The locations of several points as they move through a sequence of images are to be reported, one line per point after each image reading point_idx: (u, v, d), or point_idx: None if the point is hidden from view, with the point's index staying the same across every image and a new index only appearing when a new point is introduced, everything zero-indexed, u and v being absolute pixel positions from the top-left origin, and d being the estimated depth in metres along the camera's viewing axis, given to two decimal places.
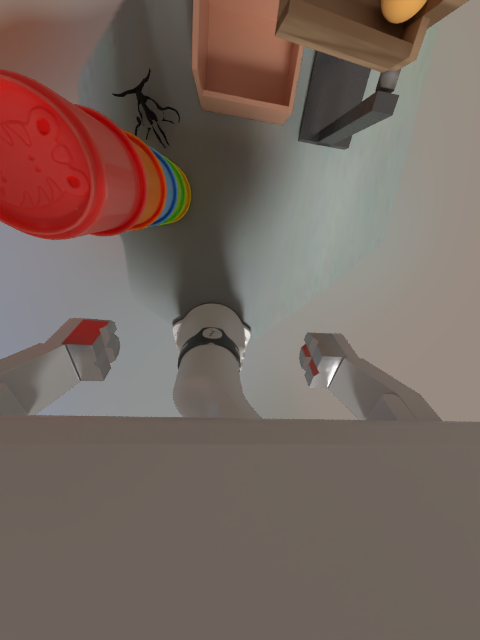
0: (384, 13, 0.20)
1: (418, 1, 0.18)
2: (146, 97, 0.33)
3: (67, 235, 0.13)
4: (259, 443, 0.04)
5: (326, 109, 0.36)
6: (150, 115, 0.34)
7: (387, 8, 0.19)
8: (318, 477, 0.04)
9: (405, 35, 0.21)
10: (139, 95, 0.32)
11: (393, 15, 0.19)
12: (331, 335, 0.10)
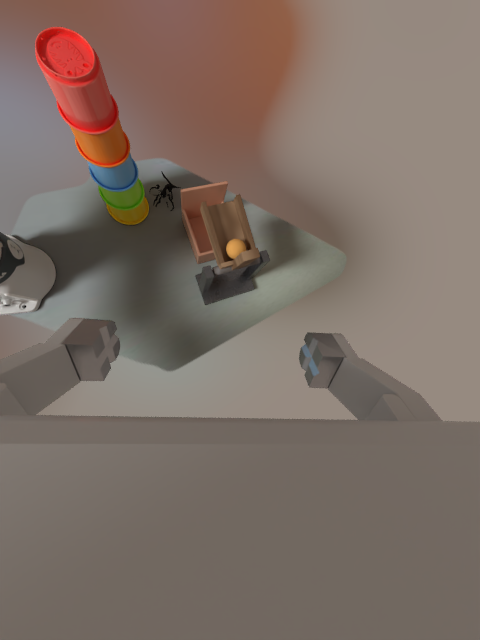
0: (226, 247, 0.46)
1: (231, 251, 0.44)
2: (170, 190, 0.61)
3: (42, 67, 0.27)
4: (259, 443, 0.04)
5: (214, 281, 0.62)
6: (163, 192, 0.60)
7: None
8: (318, 477, 0.04)
9: None
10: (168, 184, 0.60)
11: (226, 248, 0.45)
12: (331, 335, 0.10)
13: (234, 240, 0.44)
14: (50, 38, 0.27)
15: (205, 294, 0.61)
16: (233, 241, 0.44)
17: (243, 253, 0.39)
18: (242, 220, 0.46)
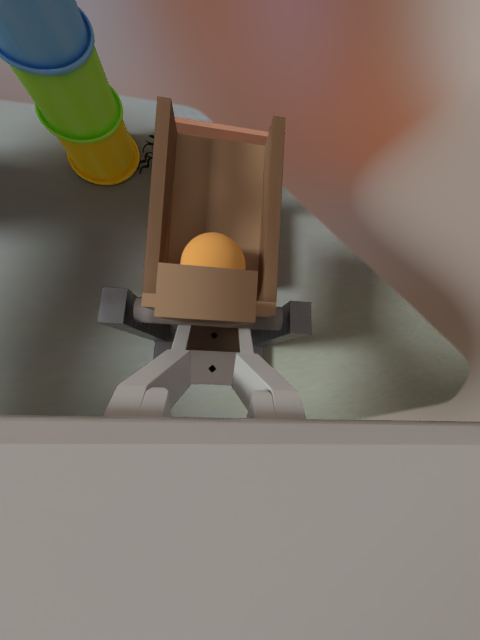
0: None
1: None
2: None
3: None
4: (259, 443, 0.04)
5: None
6: None
7: None
8: (318, 477, 0.04)
9: None
10: None
11: None
12: (236, 329, 0.09)
13: (210, 234, 0.13)
14: None
15: (161, 344, 0.30)
16: (205, 235, 0.13)
17: (164, 273, 0.07)
18: (266, 194, 0.15)
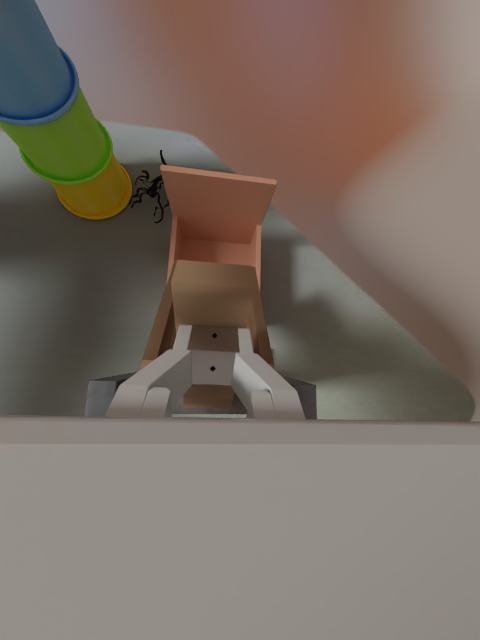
0: None
1: None
2: None
3: None
4: (259, 443, 0.04)
5: None
6: (151, 187, 0.32)
7: None
8: (318, 477, 0.04)
9: None
10: None
11: None
12: (236, 329, 0.09)
13: None
14: None
15: None
16: None
17: (181, 264, 0.09)
18: None
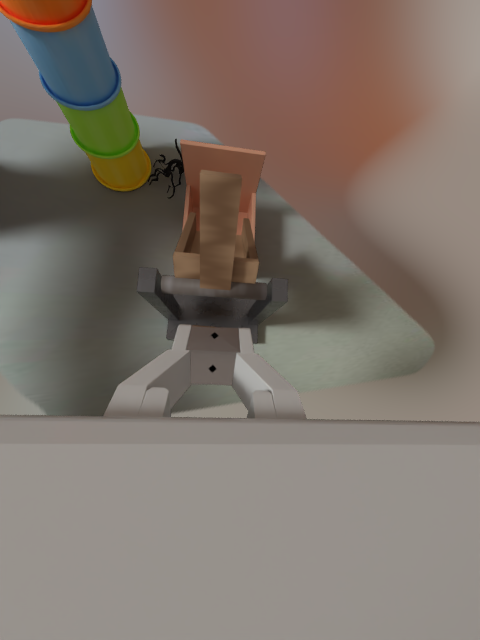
0: None
1: None
2: (179, 171, 0.41)
3: None
4: (259, 443, 0.04)
5: (195, 308, 0.37)
6: (166, 169, 0.40)
7: None
8: (318, 477, 0.04)
9: None
10: (176, 160, 0.39)
11: None
12: (237, 330, 0.09)
13: None
14: None
15: (173, 323, 0.36)
16: None
17: (203, 170, 0.17)
18: (244, 236, 0.28)
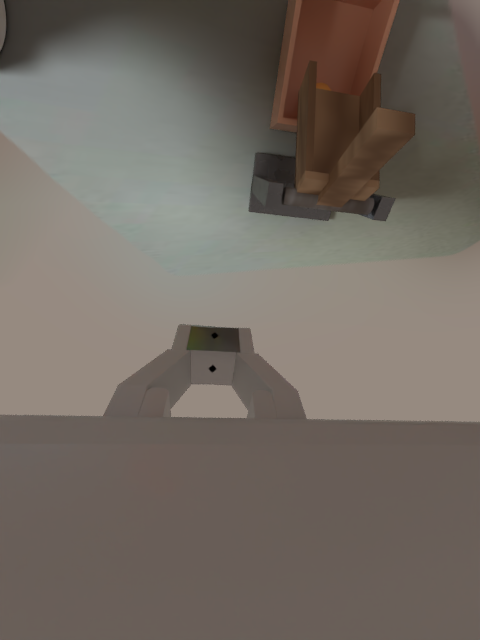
0: None
1: None
2: None
3: None
4: (259, 443, 0.04)
5: (278, 179, 0.37)
6: None
7: None
8: (318, 477, 0.04)
9: None
10: None
11: None
12: (237, 329, 0.09)
13: None
14: None
15: (255, 195, 0.38)
16: None
17: (379, 111, 0.16)
18: None
